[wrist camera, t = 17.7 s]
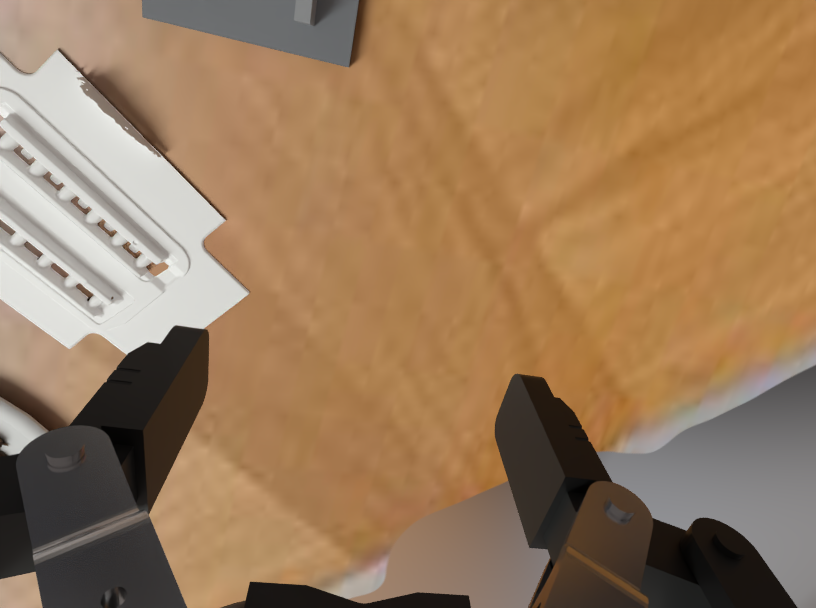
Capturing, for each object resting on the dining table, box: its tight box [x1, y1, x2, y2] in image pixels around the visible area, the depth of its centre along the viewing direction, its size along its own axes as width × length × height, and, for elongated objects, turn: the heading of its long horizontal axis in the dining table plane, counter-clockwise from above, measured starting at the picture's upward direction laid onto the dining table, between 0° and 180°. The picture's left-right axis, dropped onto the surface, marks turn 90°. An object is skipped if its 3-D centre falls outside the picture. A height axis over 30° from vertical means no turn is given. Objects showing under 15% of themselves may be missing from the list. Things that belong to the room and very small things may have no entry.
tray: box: [0, 50, 250, 355], centre depth 38 cm, size 20×28×4 cm
